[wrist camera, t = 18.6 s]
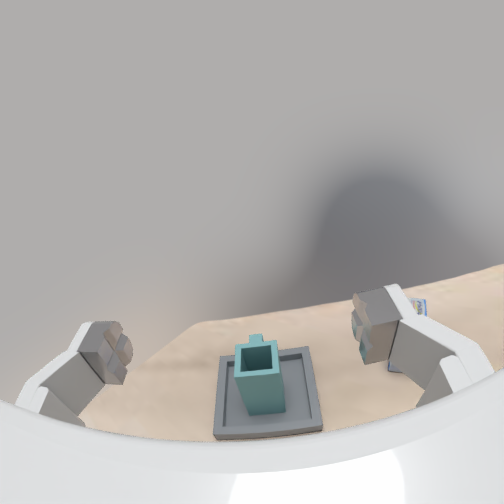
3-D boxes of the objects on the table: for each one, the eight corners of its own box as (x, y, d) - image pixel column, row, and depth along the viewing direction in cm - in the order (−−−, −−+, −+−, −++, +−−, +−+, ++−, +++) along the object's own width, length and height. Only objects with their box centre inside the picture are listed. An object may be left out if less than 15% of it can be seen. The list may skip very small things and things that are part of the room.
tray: (308, 353, 42) (308, 346, 41) (322, 430, 30) (322, 424, 29) (222, 363, 43) (220, 356, 42) (217, 439, 31) (213, 434, 30)
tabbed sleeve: (282, 376, 39) (275, 331, 34) (285, 412, 33) (279, 372, 28) (249, 379, 39) (235, 336, 34) (249, 415, 34) (233, 377, 29)
